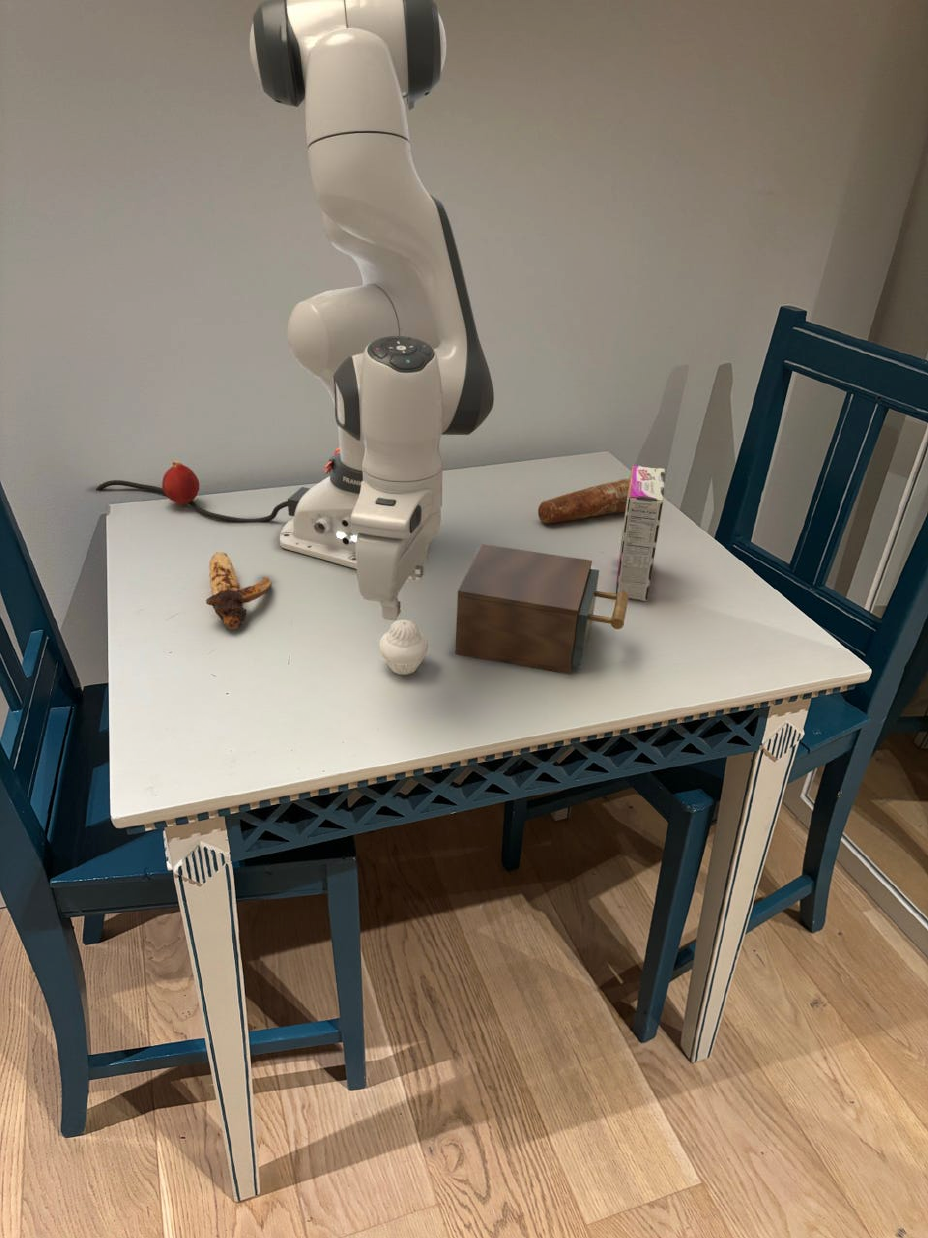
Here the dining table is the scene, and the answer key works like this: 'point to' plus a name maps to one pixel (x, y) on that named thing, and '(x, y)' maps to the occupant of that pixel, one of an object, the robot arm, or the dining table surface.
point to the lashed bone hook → (231, 591)
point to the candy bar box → (640, 531)
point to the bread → (586, 503)
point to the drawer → (587, 615)
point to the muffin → (403, 647)
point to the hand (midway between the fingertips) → (404, 597)
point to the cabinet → (521, 607)
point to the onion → (180, 484)
